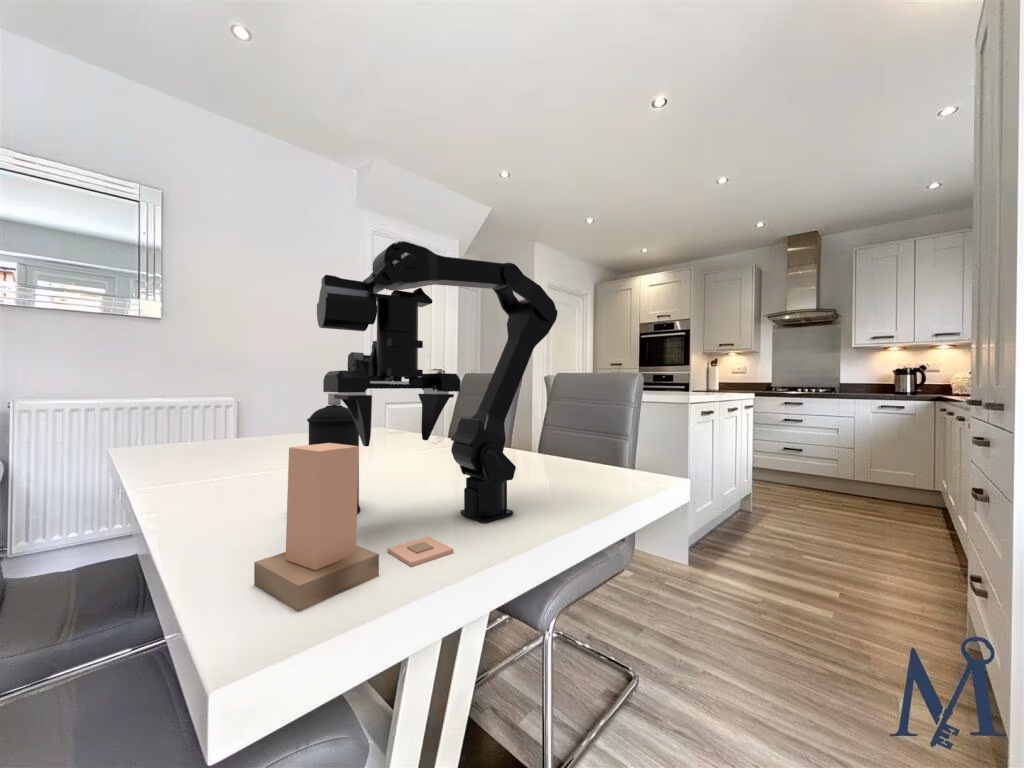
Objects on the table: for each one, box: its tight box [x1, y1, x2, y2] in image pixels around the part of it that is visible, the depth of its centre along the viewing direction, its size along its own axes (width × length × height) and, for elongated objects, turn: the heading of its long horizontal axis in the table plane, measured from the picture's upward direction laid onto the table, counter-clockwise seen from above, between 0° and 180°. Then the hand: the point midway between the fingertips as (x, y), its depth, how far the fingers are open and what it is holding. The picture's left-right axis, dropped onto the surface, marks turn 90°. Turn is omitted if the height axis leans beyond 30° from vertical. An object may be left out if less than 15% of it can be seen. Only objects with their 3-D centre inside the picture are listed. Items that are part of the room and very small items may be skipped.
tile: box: [386, 535, 454, 568], centre depth 52 cm, size 6×6×1 cm
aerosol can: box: [306, 392, 361, 515], centre depth 69 cm, size 8×8×20 cm
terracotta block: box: [285, 443, 360, 570], centre depth 45 cm, size 5×5×12 cm
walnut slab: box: [253, 545, 380, 613], centre depth 45 cm, size 9×9×3 cm
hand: (397, 442), depth 59 cm, fingers open, 9 cm apart
